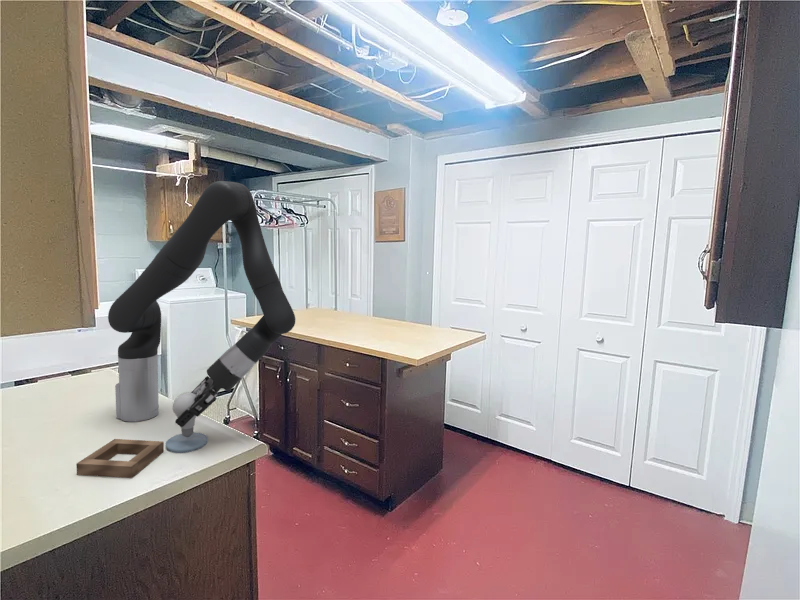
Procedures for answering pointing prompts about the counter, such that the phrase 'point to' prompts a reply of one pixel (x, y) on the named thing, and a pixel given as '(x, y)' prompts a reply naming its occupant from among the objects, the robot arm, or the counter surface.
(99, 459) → the frame
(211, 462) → the counter surface
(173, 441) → the pad
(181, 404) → the lightbulb
